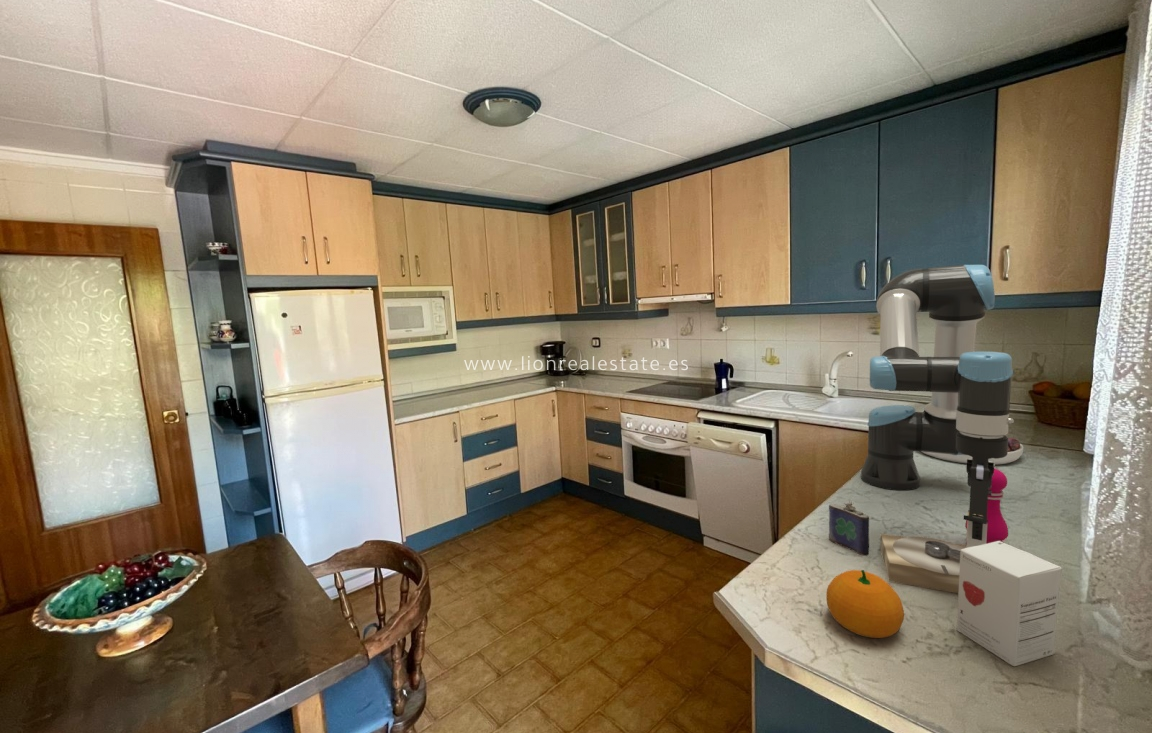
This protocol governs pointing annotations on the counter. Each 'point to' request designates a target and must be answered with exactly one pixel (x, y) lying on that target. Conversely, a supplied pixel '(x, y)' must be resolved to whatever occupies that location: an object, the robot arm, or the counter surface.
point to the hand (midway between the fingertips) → (976, 539)
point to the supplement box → (1008, 601)
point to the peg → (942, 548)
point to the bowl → (1013, 454)
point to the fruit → (865, 604)
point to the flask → (849, 528)
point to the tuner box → (919, 563)
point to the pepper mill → (996, 509)
